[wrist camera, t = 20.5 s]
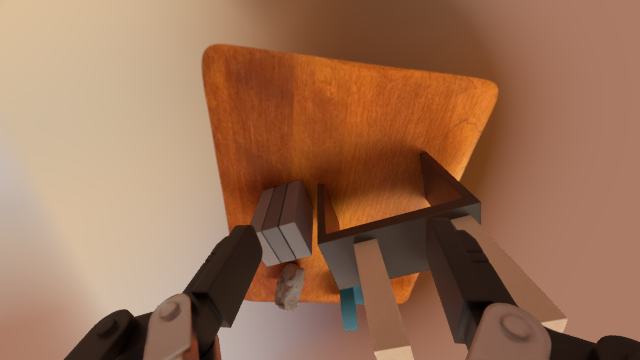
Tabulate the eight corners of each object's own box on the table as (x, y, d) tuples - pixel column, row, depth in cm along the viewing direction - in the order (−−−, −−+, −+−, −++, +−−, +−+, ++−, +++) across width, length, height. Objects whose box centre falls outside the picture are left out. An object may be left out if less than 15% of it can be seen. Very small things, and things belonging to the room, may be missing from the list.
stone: (275, 252, 51) (267, 294, 42) (305, 253, 51) (303, 294, 42) (278, 279, 55) (270, 322, 47) (305, 279, 55) (303, 322, 47)
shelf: (426, 151, 39) (481, 202, 26) (431, 197, 44) (480, 259, 31) (317, 184, 42) (317, 244, 29) (333, 223, 47) (339, 290, 34)
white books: (470, 214, 27) (568, 318, 16) (471, 253, 30) (553, 361, 20) (427, 225, 28) (495, 331, 17) (433, 262, 31) (492, 370, 20)
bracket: (381, 290, 58) (393, 335, 49) (340, 294, 58) (345, 339, 49) (382, 239, 49) (397, 282, 40) (334, 244, 50) (338, 288, 40)
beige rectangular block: (376, 238, 29) (410, 345, 18) (386, 272, 32) (420, 380, 21) (353, 243, 29) (373, 352, 19) (365, 277, 32) (388, 385, 22)
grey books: (300, 179, 41) (294, 221, 31) (313, 208, 45) (311, 255, 34) (262, 190, 43) (245, 235, 32) (278, 218, 46) (266, 267, 35)
